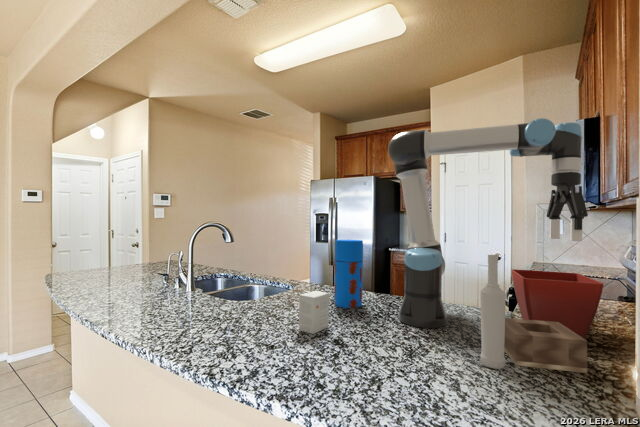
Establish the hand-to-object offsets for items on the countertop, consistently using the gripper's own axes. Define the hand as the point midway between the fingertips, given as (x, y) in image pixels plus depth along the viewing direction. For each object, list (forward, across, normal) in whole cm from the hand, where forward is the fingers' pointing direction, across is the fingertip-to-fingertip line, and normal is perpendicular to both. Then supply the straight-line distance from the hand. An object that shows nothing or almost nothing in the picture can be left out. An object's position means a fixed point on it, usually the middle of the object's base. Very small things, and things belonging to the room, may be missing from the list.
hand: (564, 240), depth 105 cm
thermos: (+29, +9, +70) cm, 76 cm away
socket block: (+28, -28, +18) cm, 43 cm away
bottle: (+28, -36, +30) cm, 54 cm away
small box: (+29, -22, +75) cm, 84 cm away
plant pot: (+28, -4, +5) cm, 29 cm away
